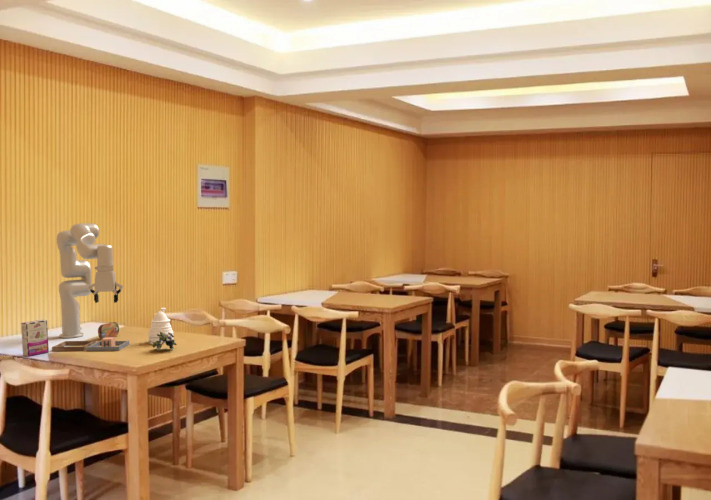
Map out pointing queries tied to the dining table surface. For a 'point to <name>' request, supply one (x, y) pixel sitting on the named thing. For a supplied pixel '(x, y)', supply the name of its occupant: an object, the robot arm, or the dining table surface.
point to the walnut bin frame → (81, 348)
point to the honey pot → (160, 326)
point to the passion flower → (166, 339)
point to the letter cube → (108, 341)
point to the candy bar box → (34, 337)
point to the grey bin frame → (112, 348)
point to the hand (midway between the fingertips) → (106, 302)
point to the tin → (108, 330)
